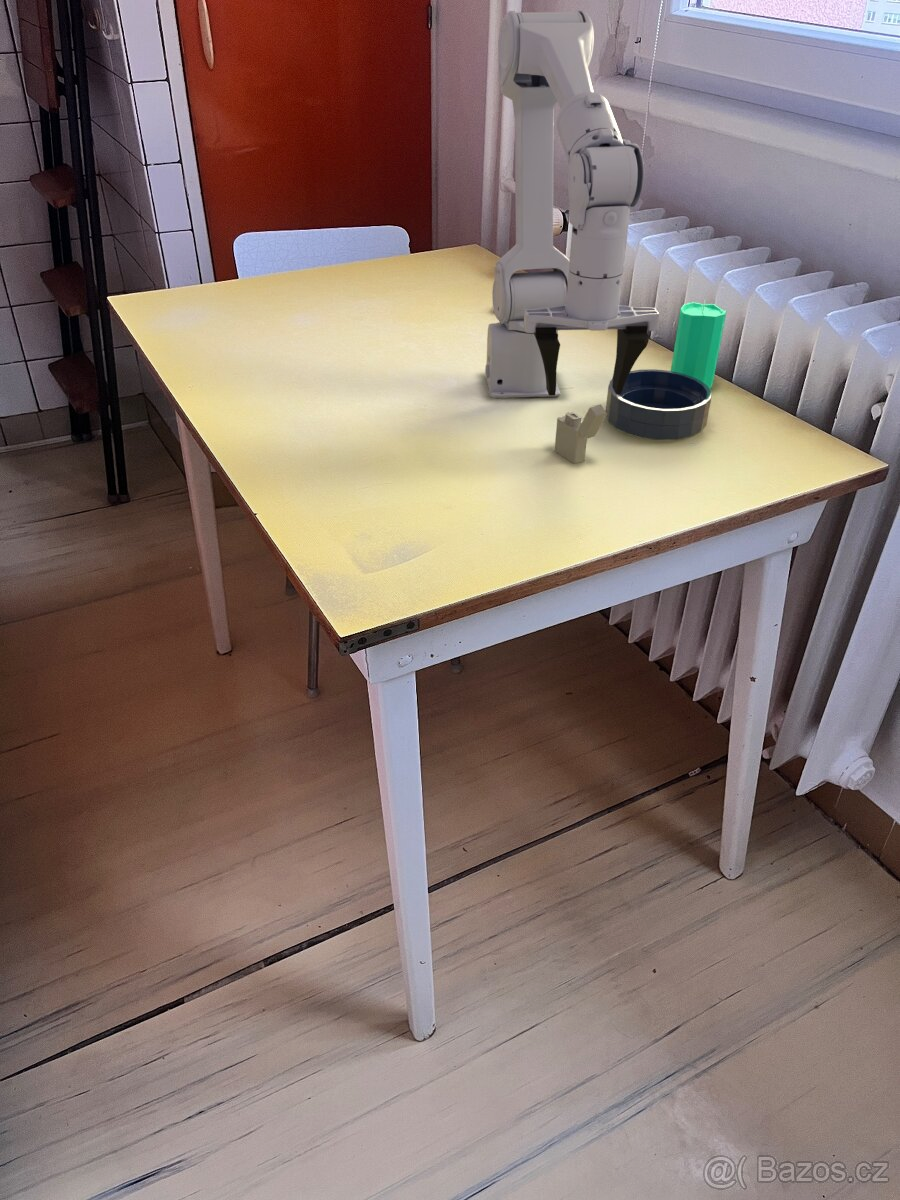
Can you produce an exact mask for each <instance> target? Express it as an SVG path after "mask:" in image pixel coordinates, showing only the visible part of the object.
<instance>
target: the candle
mask: <svg viewBox="0 0 900 1200" xmlns="http://www.w3.org/2000/svg"><path fill="white" fill-rule="evenodd" d="M703 300H704V301H703V303H700V302H694V301H691V302H690V301H689V302H688V303H685V304H682V306H681V307H680V310H679V316H678V322H677V328H676V335H675V341H674V346H673V347H674V348H673V354H672V360H671V365H670V371H673V372H677V373H682V374H686V375H688V376H691V377H694V378H696V379H698V380H700V381H702V382H703V383H705V384H706V385H707V386H708V387H709V389H710V390H711V388H712V387H713V386H714V385H713V384H714V380H715V374H716V370H717V364H718V359H719V353H720V348H721V342H722V337H723V332H724V326H725V321H726V315H727V310H724V309H722V308H721V307H719V306H718V305H716V304H715V303H706V300H707V297H704V299H703Z"/></svg>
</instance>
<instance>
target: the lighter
mask: <svg viewBox="0 0 900 1200" xmlns="http://www.w3.org/2000/svg"><path fill="white" fill-rule="evenodd" d="M606 415H607V413H606V409H605V408H604V407H603V406H602V404H597V405H595V406H594V405H593V406H590V407H589V408H588V409H587V412H586V414H585V416H584V417H583V419H582V416H580V415H579V414H578V413H575V412H574V411H571V412H569V411H568V412H566V413H565V415H561V416H558V417H557V418H556V430H555V441H554V452H556V453H557V454H559V456H561V457H563V458H564V459H566V460H567V461H568V462H570V463H572V464H575V465H576V464H579V463H583V462H585V460H586V453H587V444H588V439H591V438H594V437H596V435H597V433H598V431H599V430H600V428H601V426H602V424H603V423H604V421H605V419H606Z"/></svg>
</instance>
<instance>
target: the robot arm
mask: <svg viewBox="0 0 900 1200" xmlns="http://www.w3.org/2000/svg"><path fill="white" fill-rule="evenodd" d="M497 41H498V42H497V51H498V52H497V53H498V54H497V56H498V63H497V65H498V84H499V92H500V94H501V95H502V96H504V97H506V98H508V99H509V100H511V101H512V107H513V108H512V109H513V115H514V116H513V117H514V185H515V186H514V187H515V188H514V191H515V194H514V195H515V196H514V197H515V198H514V199H515V202H514V203H515V205H514V206H515V244H514V245H513V246H512V247H511V248H510V249H508V251H507V252H506V253H504V254H503V255H502V256H501V257H500V258H499V259H498V260H497V262H496V263H495V266H494V277H493V278H494V279H493V283H492V291H491V292H492V297H491V298H492V309H493V313H494V316H495V318H496V319H497V320H498V322H493V323H489V324H488V326H487V337H486V340H487V341H486V364H485V369H484V371H485V372H484V373H485V379H486V383H487V387H488V392H489V395H490V397H491V398H495V399H496V398H539V397H540V398H541V397H560V396H561V390H560V388H559V386H558V383H557V369H558V368H557V367H558V361H559V355H560V349H561V343H560V340H559V331H598V332H599V331H607V330H616V333H617V334H616V353H615V362H614V367H613V374H612V379H613V383H612V387H613V389H614V391H615V393H616V394H622V391H623V388H624V385H625V382H626V380H627V377H628V375H629V373H630V371H632V368H633V367H634V365H635V363H636V362H637V360H638V358H639V357H640V356H641V354H642V353H643V352H644V350H645V349H646V348H647V346H648V344H649V341H650V335H649V334H648V332H657V331H658V328H659V327H658V326H659V322H660V321H659V319H660V312H659V311H658V310H657V309H656V308H655V307H641V306H632V305H631V306H630V305H620V303H621V294H622V286H623V285H622V284H623V276H624V270H625V269H624V268H625V259H626V253H627V252H626V250H627V243H628V232H629V225H630V215H631V208H634V207H636V206H637V205H638V204H639V202H640V200H641V197H642V195H643V190H644V184H645V162H644V156H643V154H642V150H641V147H640V146H639V145H638V144H637V143H631V141H630V139H624V138H622V135H621V132H620V129H619V126H618V124H617V121H616V119H615V117H614V113H613V111H612V108H611V106H610V104H609V101H608V100H607V98H606V97H605V96H604V95H603V94H601V93H598V92H595V91H594V87H593V84H592V79H591V74H590V71H589V66H590V64H591V60H592V58H593V51H594V44H595V43H594V42H595V31H594V24H593V21H592V18H591V17H590V16H589V13H588V12H587V11H586V10H577V11H541V12H539V11H537V12H536V11H535V12H534V11H533V12H528V11H527V12H521V11H520V12H516V11H515V10H509V11H507V13H506V14H505V15H504V17H503V18H502V20H501V23H500V28H499V35H498V39H497ZM557 104H558V106H559V111H558V114H557V116H556V130H557V133H558V136H559V138H560V141H561V145H562V147H563V150H564V153H565V157H566V159H567V162H568V165H569V166H568V171H567V192H568V201H569V202H568V203H569V204H568V222H569V224H570V225H571V227H572V228H571V237H570V238H571V239H570V240H571V241H570V250H569V251H570V252H569V258H568V257H567V255H566V254H564V253H563V252H562V251H560V250H559V249H558V248H556V246H554V155H555V154H554V147H555V144H554V143H555V141H554V139H555V138H554V137H555V128H554V127H555V126H554V125H555V107H556V105H557ZM543 269H544V270H545V269H552V270H549V271H548V270H547V271H531V272H530V271H529V272H518V271H525V270H543Z"/></svg>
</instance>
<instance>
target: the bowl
mask: <svg viewBox="0 0 900 1200" xmlns="http://www.w3.org/2000/svg"><path fill="white" fill-rule="evenodd" d="M608 383H609V384H608V387H607V395H606V403H605V411H606V413H607V415H606V417H605V419H606V420H607V422H608V423H609V424H610V425H611V426H613V427H614V428H615V429H617V430H619V431H621V432H622V433H625V434H627V435H631V436H634V437H637V438H642V439H646V440H655V441H675V440H681V439H682V440H683V439H687V438H691V437H693V436H695V435H698V434H700V433H701V432H702V431H703V430H704V429H705V428H706V427H707V423H708V418H709V413H710V407H711V402H712V395H713V393H712V390H711V388H710V389H709V387H708V386H707V385H706V384H705V383H703V382H702V381H700V380H698V379H696V378H694V377H691V376H688V375H686V374H682V373H677V372H673V371H671V370H665V369H657V368H656V369H655V368H653V369H636V370H631V371H630V373H629V375H628V377H627V380H626V382H625V385H624V388H623V391H622V394H616V393H615V391H614V389H613V387H612V383H613V378H612V379H610V380H609V382H608Z"/></svg>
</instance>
